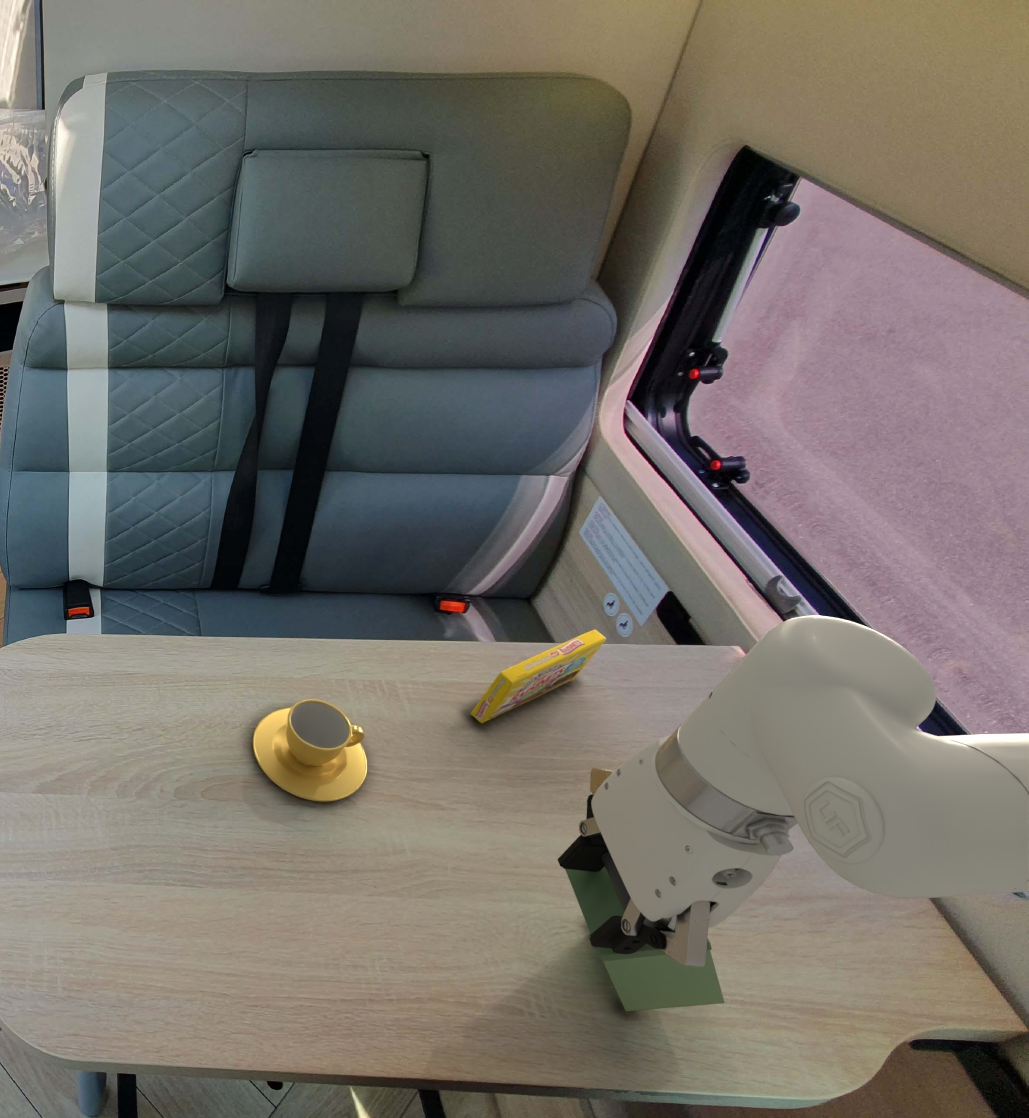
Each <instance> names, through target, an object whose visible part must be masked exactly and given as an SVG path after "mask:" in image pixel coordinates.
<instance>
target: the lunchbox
mask: <svg viewBox="0 0 1029 1118" xmlns="http://www.w3.org/2000/svg"><path fill="white" fill-rule="evenodd" d="M601 858H602V860H603V863H604V865H605V867H604V868H602V869H601V870H600V871H598V872H591V871H581V870H571V869H564V870H565V872H566V875H567V878H568V880H569V883H570V885H571V888H572V890H573V893H574V895H575V898H576V901H577V903H578V905H579V909H580V911H581V913H582V917H583V918H584V922H585V923H586V926H587V929H588V931H589V934H590V935H591V934H592V933H593V932H594V931H596V930H597V929H598V928H599V927H600V926H601V925H602V924H604V923H605V922H606V921H607V920H608V919H609V918H610V917H612V916H623V915H624V912H625V910H626V908H627V906H628V903H629V901H630V899H631V897H630V895H629V893H628V891H627V889H626V887H625V885H624V883H623V880H622V878H621V876H620V874H619V872H618V870H617V867H616V865H615V863H614V861H613V859H612V857H611V854H610V852H606V853H604V854H603V855H602V856H601ZM675 929H676V926H675V928H674V931H675ZM595 949H596V951H597V954H598V957H599V959H600V961H601V962H602V963H603V964H604V967H605V969H606V971H607V973H608V975H609V977H610V980H611V981H612V984H613V986H614V988H615V991H616V993H617V995H618V998H619V999H620V1002H621V1004H622V1006H623V1008H624V1011H625V1012H633V1011H634V1012H635V1011H647V1010H649V1011H650V1010H659V1009H661V1010H662V1009H673V1008H684V1007H695V1006H708V1005H719V1004H721V1005H722V1004H725V998H724V995H723V991H722V988H721V984H720V980H719V977H718V973H717V970H716V966H715V963H714V959H713V955H712V949H713V947H712V944H711V942H710V940H709V937H708V938H707V950H706V962H705V965H704V967H696V966H686V965H681V964H680V963H678V962H677V961H675V960H674V959H672V958H671V957H669V956H668V955H666V954H665V952H664V951H662V950H661V949H655V948H653V947H652V946H650V945H648V944H645V945H644V946H643V947H641V948H640V949H639V950H638V951H636V952H635V953H632V954H618V953H614V952H613V950H612V949H610V948H600V947H595Z"/></svg>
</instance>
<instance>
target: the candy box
mask: <svg viewBox="0 0 1029 1118" xmlns="http://www.w3.org/2000/svg"><path fill="white" fill-rule="evenodd" d="M606 641H607V637H606V636H604V635H603V634H601V632H599V631H598V630H597V629H595V628H594V629H593V630H590V631H587V632H585V633H583V634H579V635H578V636H575V637H573V638H571V639H569V640H567V641H565V642H562V643H560V644H559V645H556V646H553V647H551V648H549V649H547V650H545V651H543V652H540V653H539V654H536V655H534V656H532V657H530V658H528V659H526V660H523V661H521V662H518V663H516V664H514V665H512V666H510V667H508V668H505V669H503V670H502V671H500V672H499V673H498V675H497V676H496V677H495V679H494V680H493V682H492V683H491V684H490V686H489V687H488V689H486V691H485V692H484V694H483V696H482V697H481V698H480V700H479V701H478V702H477V704H476V705H475V707H473V709H472V711H471V712H470V715H471V716H472V717H473V718H474V719H475V720H477V722H478V723H480V724H484V723H486V722H489V721H490V720H492V719H494V718H496V717H498V716H501V715H502V714H505V713H507V712H509V711H511V710H513V709H515V708H517V707H520V706H522V705H524V704H526V703H528V702H530V701H532V700H535V699H537V698H539V697H541V696H542V695H544V694H547V693H548V692H550V691H552V690H554V689H556V688H559V687H561V686H563V685H565V684H568V683H569V682H572V681H574V680H576V678H577V677H578V675H579V674H580V673H581V672H582V670H583V669H584V668H585V666H586V665H587V664H588V663H589V662H590V661H591V659H592V658H593V657H594V655H596V653H597V652H598V651H599V650H600V648H601V647H602V645H603V644H604V643H605V642H606Z"/></svg>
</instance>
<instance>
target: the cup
mask: <svg viewBox="0 0 1029 1118" xmlns="http://www.w3.org/2000/svg"><path fill="white" fill-rule="evenodd" d="M364 738H365V733H364V729H363V727H362V726H360V725H357V724H355V725H353V724H351V722H350V720H349V718H348V717H347V716H346V714H345V713H344V711H342V710H341V709H340V708H338V707H337V706H335V705H333V704H331V703H330V702H327V701H324V700H320V699H313V698H311V699H304V700H300V701H298V702H296V703H294V704H293V705H292V706H287V707H282V708H278V709H276V710H273V711H271V712H269V713H268V714H265V716H264V717H262V718H261V720H260V721H259V722H258V723H257V724H256V727H255V729H254V732H253V736H252V749H253V753H254V757H255V759H256V761H257V763H258V765H259V767H260V768H261V770H262V771H263V773H264V774H265V775H266V776H267V777H268V779H270V781H272V782H273V783H274V784H276V785H277V786H278V787H279V788H281V789H282V790H283V791H285V792H287V793H289V794H292V795H293V796H296V797H299V798H301V799H305V800H308V801H313V802H324V803H325V802H335V801H339V800H343V799H346V798H348V797H350V796H351V795H353V794H354V793H356V792H357V791H358V790H359V789H360V788H361V786H362V785H363V783H364V781H365V779H366V776H367V771H368V761H367V756H366V752H365V750H364V747H363V745H362V744H361V742H362V741H363V740H364Z"/></svg>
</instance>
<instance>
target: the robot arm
mask: <svg viewBox="0 0 1029 1118" xmlns="http://www.w3.org/2000/svg"><path fill="white" fill-rule="evenodd" d="M936 701H937V689H936V685H935V681H934V679H933V678H932V676H931V674H930V672H929V671H928V670H927V668H926V667H925V666H924V664H923V663H922V661H920V660H919V659H918V658H917V657H916V656H915V655H914V654H913V653H912V652H910V651H909V650H908V649H906V648H905V647H904V646H903V645H901V644H900V643H898V642H897V641H895V640H894V639H892V638H891V637H888V636H887V635H886V634H883V633H881V632H879V631H877V630H874V628H873V629H872V628H870V627H868V626H865V625H863V624H860V623H857V622H855V621H852V620H847V619H844V618H839V617H833V616H826V615H803V616H797V617H792V618H789V619H787V620H785V621H782V622H780V623H778V624H776V625H774V626H773V627H772V628H770V629H769V630H768V631H767V632H766V633H765V634H764V635H763V636H762V637H761V638H760V639H759V640H758V641H757V642H756V643H755V644H754V646H753V647H752V648H750V650H749V651H747V653H746V654H745V655H744V656H743V657H742V658H741V659H740V660H739V662H738V663H737V664H736V665H735V666H734V667H733V668H732V669H731V670H730V671H729V672H728V673H727V674H726V675H725V677H723V678H722V680H721V681H720V682H719V683H718V684H717V685H716V686H715V687H714V688H713V690H711V691H710V693H709V694H708V695H707V696H706V697H705V698H704V699H703V700H702V701H701V702H700V703H699V704H698V705H697V706H696V707H695V709H694V710H693V711H692V712H691V713H690V714H689V715H688V716H687V717H686V718H685V720H684V721H683V722H682V723H681V724H680V725H679V726H677V728H676V729H675V730H674V731H673V732H672V733H671V734H670V735H666V736H663V737H661V738H658V739H657V740H655V741H653V742H651V743H649V744H647V745H646V746H645V747H643V748H641V749H639V750H638V751H636V752H635V753H634V754H633V755H631V756H630V757H629V758H628V759H626V760H625V761H623V763H621V764H620V765H619V766H617V768H616V769H615V770H614V769H610V768H600V767H592V768H591V770H590V777H589V779H590V781H589V783H590V786H589V787H590V788H589V792H590V793H591V794H589V795H588V796H587V798H586V817H585V819H583V820H581V821H580V822H579V823H578V831H579V833H580V835H579V836H578V837H577V838H576V839H574V841H573V842H572V843H571V844H570V846H568V847H567V848H566V850H565V851H564V852H563V853H561V855H560V856H559V857H558V858H557V862H558V865H559V867H560V868H562V869H564V870H565V869H571V870H581V871H591V872H598V871H600V870H601V869H602V868H604V867H605V865H604V863H603V860H602V858H601V856H602V855H603V854H604V853H606V852H610V854H611V857H612V859H613V861H614V863H615V865H616V867H617V870H618V872H619V874H620V876H621V878H622V880H623V883H624V885H625V887H626V889H627V891H628V893H629V895H630V897H631V899H630V901H629V903H628V906H627V908H626V910H625V912H624V915H623V916H612V917H610V918H609V919H608V920H607V921H606V922H605V923H604V924H602V925H601V926H600V927H599V928H598V929H597V930H596V931H594V932H593V933H592V934H590V935H589V938H588V939H589V942H590V945H591V946H592V947H593V948H596V947H600V948H610V949H612V950H613V952H614V953H618V954H632V953H635V952H636V951H638V950H639V949H640V948H641V947H643V946H644V945H645V944H648V945H650V946H652V947H653V948H655V949H661V950H662V951H664V952H665V954H666V955H668V956H669V957H671V958H672V959H674V960H675V961H677V962H678V963H680V964H681V965H686V966H696V967H704V965H705V962H706V950H707V938H708V939H709V928H714V927H717V926H718V925H719V924H721V923H722V922H724V921H726V920H727V918H729V917H730V916H732V914H733V913H735V912H736V911H737V910H739V908H740V907H741V906H743V905H744V903H746V901H748V899H750V898H751V897H752V896H753V895H754V893H755V892H757V890H759V888H761V886H762V885H763V884H764V882H766V880H767V878H769V876H770V875H771V874H772V872H773V871H774V869H775V868H776V866H777V864H778V863H779V861H780V860H781V857H782V856H783V855H786V854H789V853H791V852H792V851H793V850H794V849H795V848H794V845H793V844H792V842H791V841H790V839H789V837H790V834H789V830H790V829H792V828H793V827H794V826H796V825H798V827H799V828H800V830H801V832H802V834H803V835H804V837H805V838H806V840H807V842H808V844H809V845H810V846H811V847H812V849H813V850H814V851H815V853H816V854H817V856H818V857H819V858H820V859H821V860H822V861H823V862H824V864H826V865H827V866H828V867H829V868H830V869H831V870H832V871H833V872H834V873H835V874H837V876H839V877H840V878H841V879H843V880H845V881H847V882H848V883H850V884H852V885H854V886H855V887H858V888H859V889H862V890H865V891H867V892H870V893H872V894H876V895H878V896H879V895H880V896H885V897H888V898H895V899H896V898H897V899H912V900H913V899H937V898H952V897H953V898H954V897H970V896H986V895H987V896H988V895H999V894H1013V893H1014V894H1015V893H1029V733H1026V732H1024V733H1022V732H1021V733H981V734H980V733H979V734H977V733H976V734H960V735H957V734H956V735H939V736H938V735H935V734H931V733H928V732H925V731H922V730H919V729H918V728H917V727H919V726H920V725H921V724H922V723H923V722H924V721H925V720H926V719H927V718H928V717H929V715H930V714H931V713H932V711H933V710H934V707H935V705H936ZM675 926H676V929H675V931H674V928H675Z"/></svg>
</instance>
